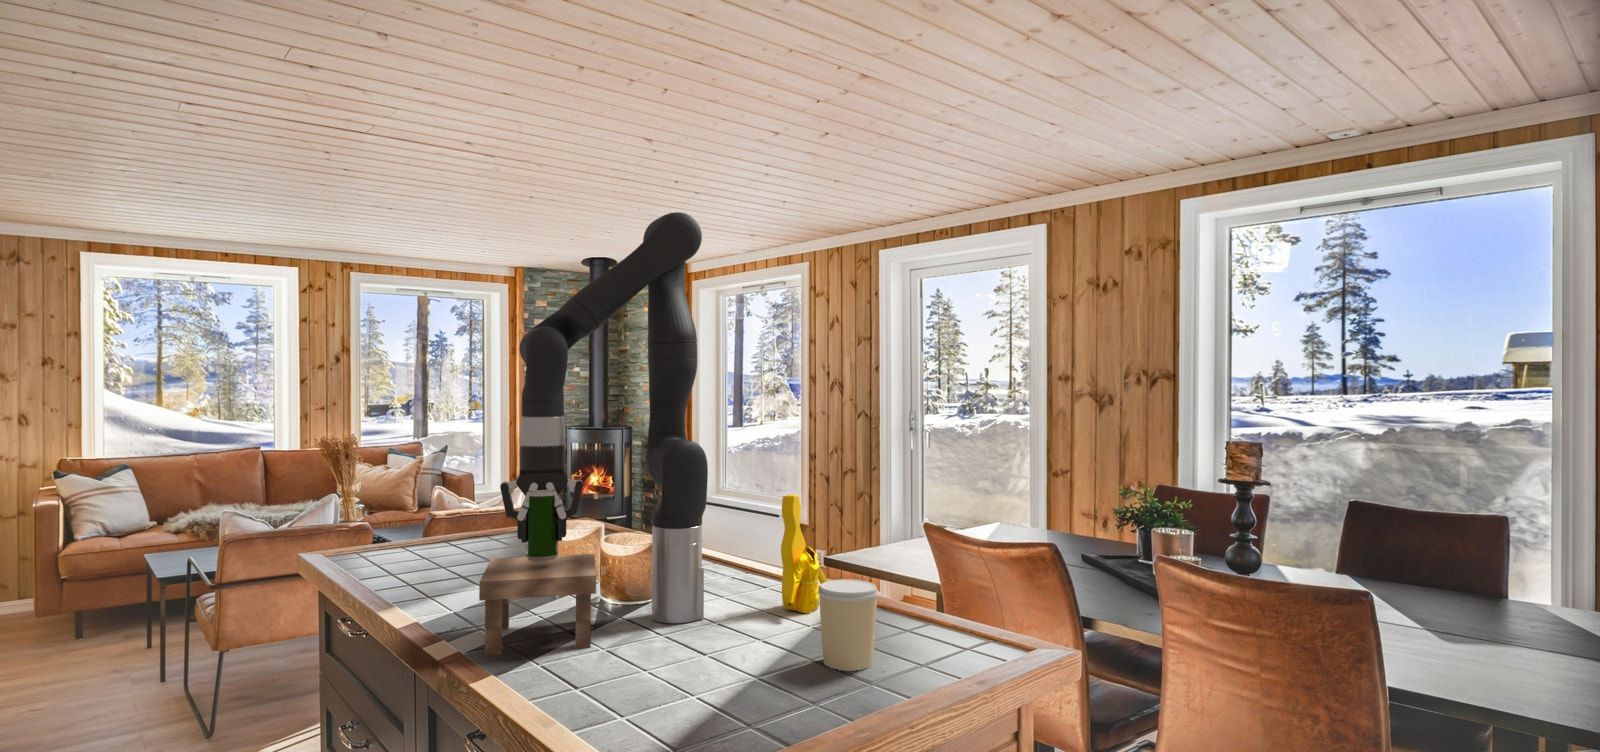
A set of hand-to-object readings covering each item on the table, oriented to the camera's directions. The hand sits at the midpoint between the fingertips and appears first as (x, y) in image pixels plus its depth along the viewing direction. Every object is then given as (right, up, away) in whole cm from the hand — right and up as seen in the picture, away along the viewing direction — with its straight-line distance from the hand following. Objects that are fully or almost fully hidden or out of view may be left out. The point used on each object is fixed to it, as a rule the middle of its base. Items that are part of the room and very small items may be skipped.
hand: (541, 540), depth 141 cm
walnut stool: (0, -16, 0) cm, 16 cm away
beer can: (0, -3, 0) cm, 3 cm away
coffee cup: (+52, -17, -13) cm, 56 cm away
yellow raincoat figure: (+45, -17, +18) cm, 51 cm away
